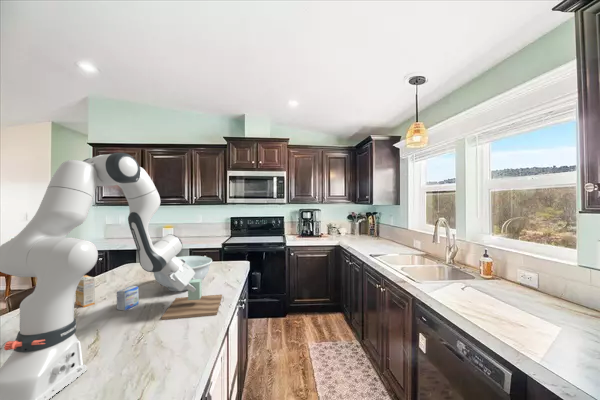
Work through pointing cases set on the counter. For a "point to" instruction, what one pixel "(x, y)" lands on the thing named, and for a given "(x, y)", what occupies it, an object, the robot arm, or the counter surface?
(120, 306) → the medicine box
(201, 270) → the bowl
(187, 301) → the walnut board
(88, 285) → the supplement box
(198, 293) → the green block
